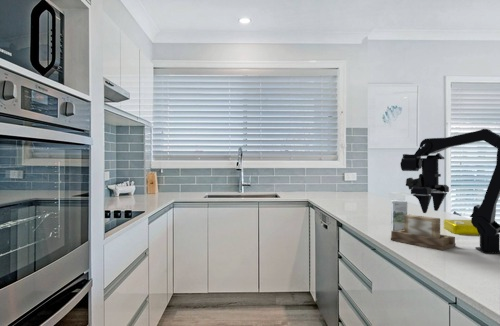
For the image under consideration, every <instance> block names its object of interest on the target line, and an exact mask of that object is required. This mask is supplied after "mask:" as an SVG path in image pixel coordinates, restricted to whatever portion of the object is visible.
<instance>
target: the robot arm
mask: <svg viewBox="0 0 500 326" xmlns="http://www.w3.org/2000/svg"><path fill="white" fill-rule="evenodd" d="M479 142H485V143H487V144H489V145H491V146H492V147H493V148H496V149H497V151H496V163H495V164H496V165H495V167H494V169H493V173H492V175H491V179H490V180H489V184H488V186H487V188H486V192H485V194H484V196H483V199H482V202H481V203H480V204H477V205H474V206H473V208H472V213H471V215H470V216H469V218H471V219H470V220H471V223H472V224H473V226H474V227H475V228H477V231H478V233H479V234H480V235H479V246H478V247H475V250H477V251H479V252H481V253H484V254H500V234H499V233H500V224H499V223H498V222H497V221H496V214H497V213H496V212H497V203H498V201H499V198H500V134H498V133H496V132H495V131H494V132H493V131H492V130H491V129H488V128H482V129H478V130H476V131H471V132H466V133H462V134H457V135H453V136H452V135H451V136H448V137H431V138H430V137H429V138H424V139H423V140H421V142H420V143H419V147H418V148H417V150H416V151H415V153H414V154H407V153H404V154H402V158H401V161H400V169H401V171H402V172H419V170H420V169H421V173H419V174H418V178H413V177H408V178H406V179H405V187H408V190H410V194H411V195H412V196H413V197H415V198H416V199H417V200H418V203H419V205H420V208H421V210H422V213H423V214H426V213H427V212H428V209H429V206H430V202H431V201H432V204H433V210H434V212H438V211H439V209H440V207H441V204H442V203H443V201H444V199H445V197H446V196H447V195H448V193H449V192H450V188H449V186H448V185H447V184H440V183H439V177H441V176H442V175H441V173H439V160H445V157H444V156H443V155H442V154H441V153H440V152H442V151H444V150H447V149H450V148H453V147H457V146H459V147H460V146H463V145H464V146H465V145H469V144H474V143H479ZM433 154H434V155H433ZM422 157H424V158H422Z"/></svg>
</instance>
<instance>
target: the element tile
mask: <svg viewBox="0 0 500 326" xmlns="http://www.w3.org/2000/svg"><path fill="white" fill-rule="evenodd" d="M443 229H444V230H446V231H448V232H449V233H451V234H452V235H453V234H454V235H465V236H466V235H469V236H472V235H473V236H480V234H479V233H478V231H477V228H475V227H474V226H473V224H472V223H471V219H448V218H447V219H444V220H443Z"/></svg>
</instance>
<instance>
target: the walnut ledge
mask: <svg viewBox="0 0 500 326" xmlns="http://www.w3.org/2000/svg"><path fill="white" fill-rule="evenodd" d="M390 232H391V236H390V241H394V242H398V243H404V244H409V245H414V246H418V247H419V246H420V247H424V248H427V249H433V250H439V251H445V250H448V249H452V248H454V247H456V246H457V245H456V236H454V235H453V236H452V235H447V234H446V235H445V234H441V233H440V238H433V237H427V236H421V235H415V234H410V233H405V229H402V230H400V231H390Z"/></svg>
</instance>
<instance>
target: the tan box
mask: <svg viewBox="0 0 500 326" xmlns="http://www.w3.org/2000/svg"><path fill="white" fill-rule="evenodd" d="M405 233H410V234H415V235H421V236H427V237H433V238H440V234H441V218H440V217H432V216H431V217H430V216H424V215H423V216H422V215H416V214H407V215H405Z"/></svg>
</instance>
